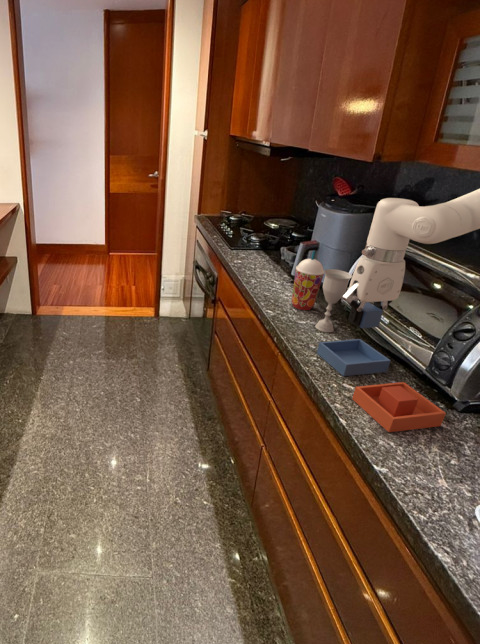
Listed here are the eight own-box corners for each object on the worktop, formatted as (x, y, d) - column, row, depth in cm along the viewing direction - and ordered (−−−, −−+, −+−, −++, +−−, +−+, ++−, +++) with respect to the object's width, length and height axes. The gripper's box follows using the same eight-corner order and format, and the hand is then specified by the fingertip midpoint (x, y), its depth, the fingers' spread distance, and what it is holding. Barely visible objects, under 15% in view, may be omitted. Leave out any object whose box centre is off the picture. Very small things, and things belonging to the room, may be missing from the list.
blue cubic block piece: (364, 318, 98) (368, 302, 96) (378, 327, 94) (383, 310, 92) (348, 319, 97) (352, 303, 96) (361, 328, 93) (366, 312, 92)
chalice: (342, 334, 115) (357, 278, 108) (319, 334, 115) (333, 278, 108) (329, 322, 121) (342, 269, 115) (307, 322, 122) (319, 269, 115)
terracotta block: (394, 401, 87) (400, 385, 86) (412, 416, 83) (418, 399, 81) (376, 403, 87) (382, 387, 85) (393, 418, 83) (399, 401, 81)
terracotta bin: (399, 393, 90) (403, 381, 89) (440, 426, 81) (446, 413, 80) (352, 399, 89) (355, 386, 88) (388, 432, 80) (393, 419, 78)
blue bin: (356, 349, 107) (360, 338, 106) (387, 371, 98) (391, 360, 97) (316, 353, 106) (319, 342, 105) (343, 376, 97) (346, 364, 95)
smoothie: (288, 299, 136) (299, 245, 129) (315, 303, 133) (328, 249, 125) (288, 309, 129) (299, 253, 122) (316, 314, 126) (329, 257, 118)
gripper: (363, 261, 84) (343, 333, 91) (431, 256, 86) (406, 327, 93) (338, 249, 91) (321, 317, 98) (402, 246, 93) (381, 312, 100)
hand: (363, 321), depth 95 cm, fingers closed on blue cubic block piece, 4 cm apart
